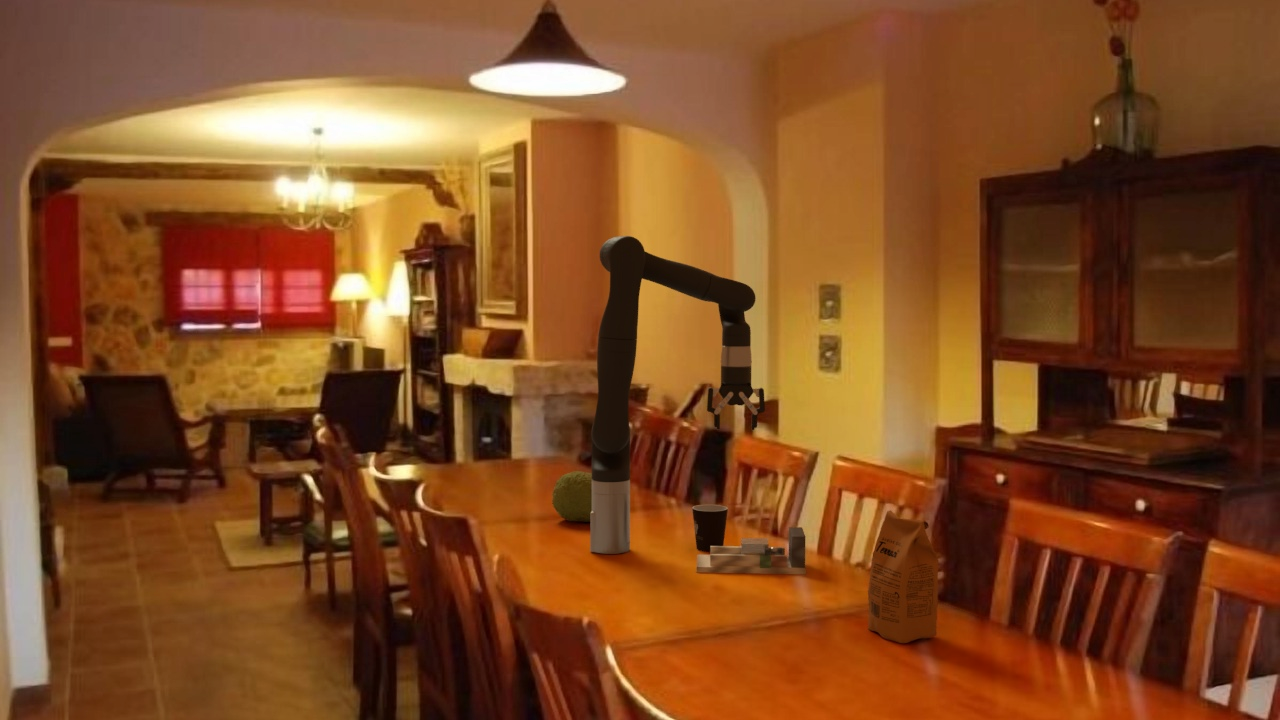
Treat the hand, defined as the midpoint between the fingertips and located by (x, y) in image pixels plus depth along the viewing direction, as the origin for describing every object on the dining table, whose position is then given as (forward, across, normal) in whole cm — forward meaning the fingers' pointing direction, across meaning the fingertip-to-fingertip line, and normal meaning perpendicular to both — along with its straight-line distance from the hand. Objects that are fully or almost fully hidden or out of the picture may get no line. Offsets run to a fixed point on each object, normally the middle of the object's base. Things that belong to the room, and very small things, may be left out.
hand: (735, 429), depth 283 cm
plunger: (+27, +5, -27) cm, 39 cm away
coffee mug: (+28, -6, -7) cm, 30 cm away
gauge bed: (+28, +3, -26) cm, 38 cm away
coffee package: (+28, +29, -75) cm, 85 cm away
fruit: (+28, -41, +22) cm, 54 cm away
